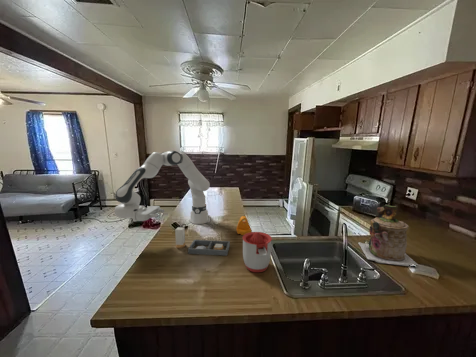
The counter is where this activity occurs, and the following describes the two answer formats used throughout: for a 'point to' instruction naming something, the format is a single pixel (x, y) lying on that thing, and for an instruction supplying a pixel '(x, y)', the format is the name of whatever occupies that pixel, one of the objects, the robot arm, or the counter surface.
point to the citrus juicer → (256, 251)
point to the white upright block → (180, 237)
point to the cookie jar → (387, 239)
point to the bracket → (243, 226)
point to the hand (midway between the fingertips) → (160, 213)
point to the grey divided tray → (209, 247)
